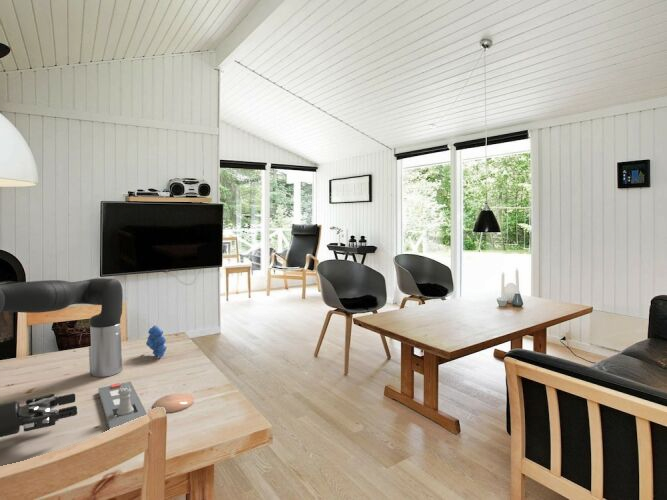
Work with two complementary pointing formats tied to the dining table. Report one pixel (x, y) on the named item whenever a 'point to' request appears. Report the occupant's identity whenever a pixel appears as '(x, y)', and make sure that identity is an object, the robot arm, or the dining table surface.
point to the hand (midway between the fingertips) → (76, 403)
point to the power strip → (112, 403)
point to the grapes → (156, 341)
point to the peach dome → (175, 402)
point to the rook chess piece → (124, 402)
